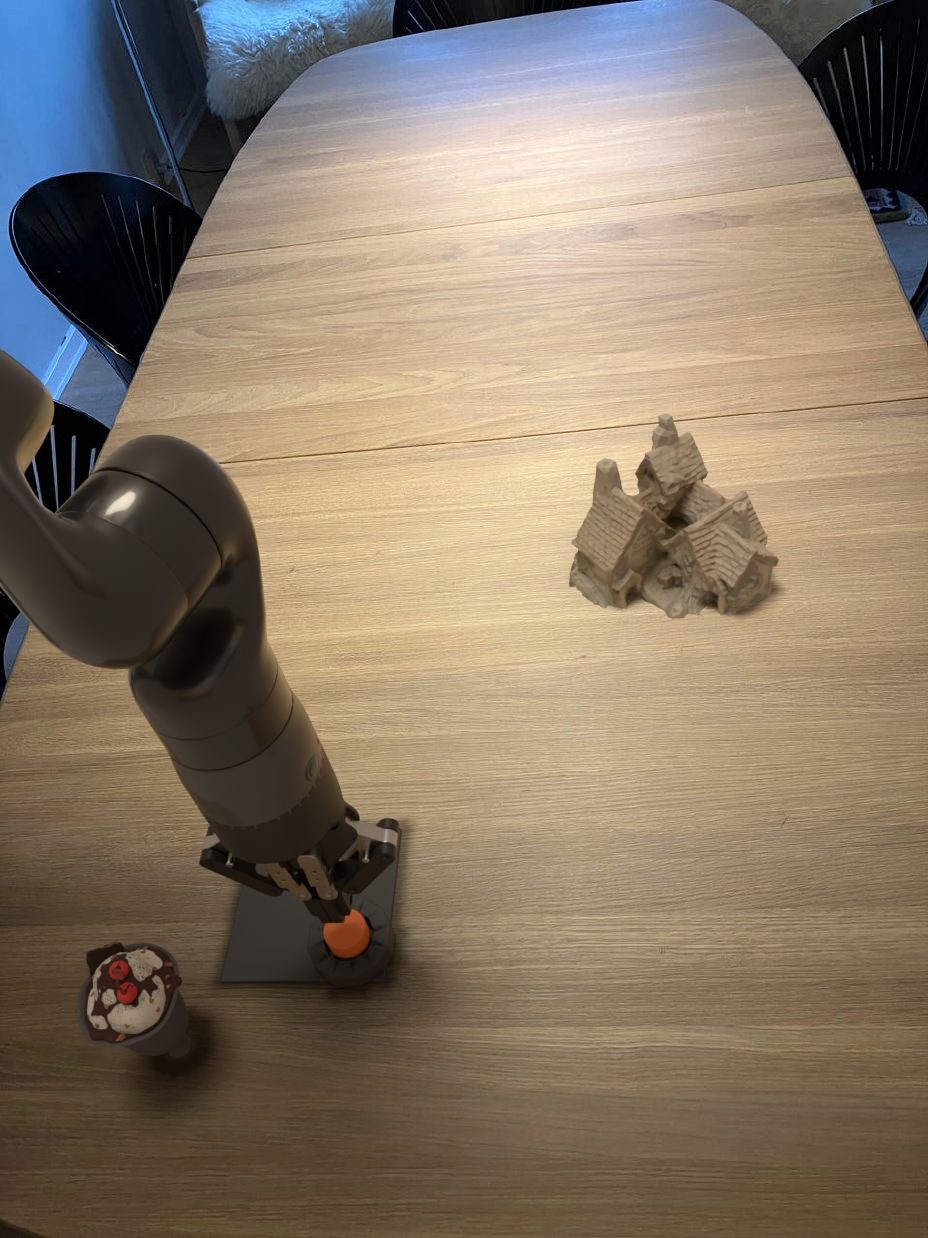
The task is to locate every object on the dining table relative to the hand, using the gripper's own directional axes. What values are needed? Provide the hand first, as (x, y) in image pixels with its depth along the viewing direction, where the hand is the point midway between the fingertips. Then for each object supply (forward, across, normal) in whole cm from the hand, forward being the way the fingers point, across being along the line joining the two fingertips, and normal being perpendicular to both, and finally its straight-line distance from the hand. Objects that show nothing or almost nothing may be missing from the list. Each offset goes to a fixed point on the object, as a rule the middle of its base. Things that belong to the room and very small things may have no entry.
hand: (335, 910), depth 69 cm
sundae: (+7, +12, +7) cm, 15 cm away
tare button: (+4, 0, 0) cm, 4 cm away
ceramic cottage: (+7, -24, -35) cm, 43 cm away
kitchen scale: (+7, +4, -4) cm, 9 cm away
